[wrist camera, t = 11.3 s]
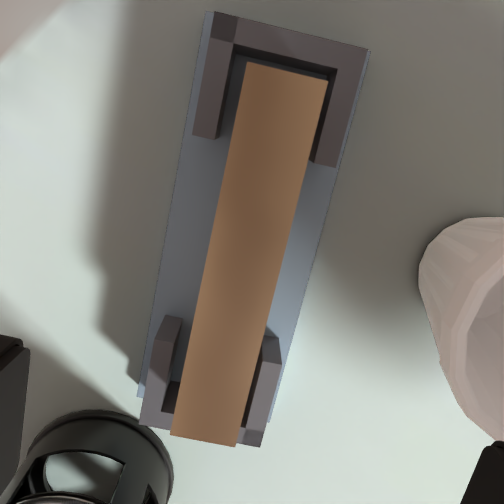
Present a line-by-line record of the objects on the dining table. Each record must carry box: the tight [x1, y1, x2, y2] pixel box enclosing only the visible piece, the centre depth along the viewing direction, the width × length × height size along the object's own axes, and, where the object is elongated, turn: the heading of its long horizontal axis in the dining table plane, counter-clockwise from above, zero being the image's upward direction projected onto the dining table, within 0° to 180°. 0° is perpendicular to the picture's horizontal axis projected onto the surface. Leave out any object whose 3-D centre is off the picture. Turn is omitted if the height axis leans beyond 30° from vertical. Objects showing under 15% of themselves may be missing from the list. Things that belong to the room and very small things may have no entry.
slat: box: [170, 62, 328, 447], centre depth 22 cm, size 3×16×6 cm, turn 167°
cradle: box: [137, 11, 371, 447], centre depth 23 cm, size 8×21×4 cm, turn 167°
